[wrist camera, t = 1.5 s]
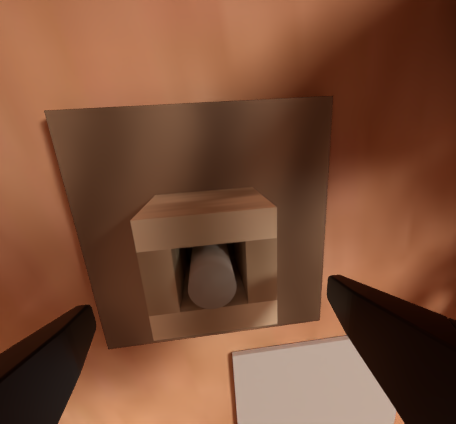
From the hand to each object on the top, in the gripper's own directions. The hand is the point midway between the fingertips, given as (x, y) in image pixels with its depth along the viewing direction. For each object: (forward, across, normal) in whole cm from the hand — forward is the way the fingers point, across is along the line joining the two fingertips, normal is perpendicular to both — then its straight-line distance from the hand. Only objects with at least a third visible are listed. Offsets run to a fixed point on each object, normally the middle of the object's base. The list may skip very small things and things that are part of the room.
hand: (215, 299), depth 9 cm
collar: (+7, 0, 0) cm, 7 cm away
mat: (+8, -9, +18) cm, 22 cm away
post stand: (+8, 0, 0) cm, 8 cm away
